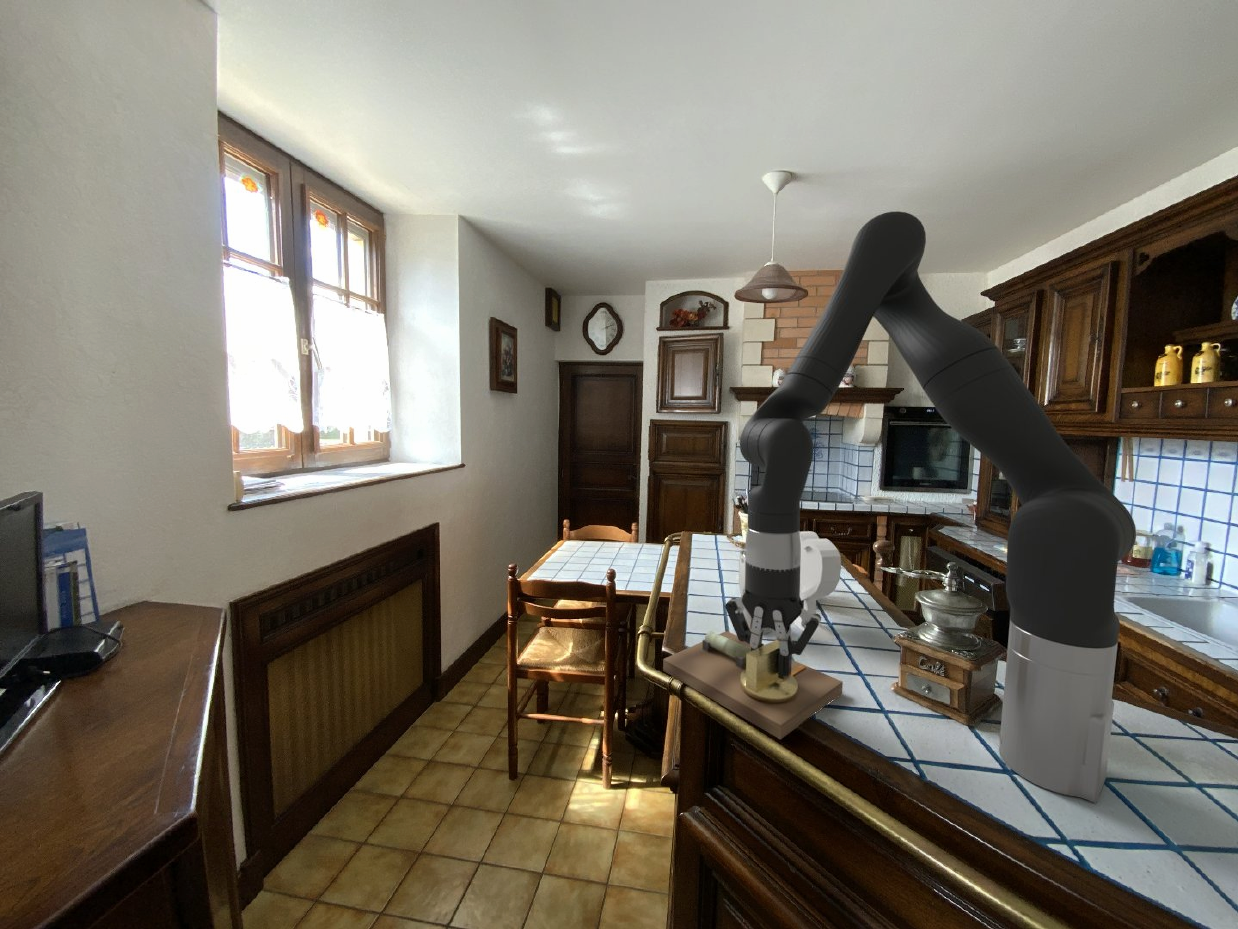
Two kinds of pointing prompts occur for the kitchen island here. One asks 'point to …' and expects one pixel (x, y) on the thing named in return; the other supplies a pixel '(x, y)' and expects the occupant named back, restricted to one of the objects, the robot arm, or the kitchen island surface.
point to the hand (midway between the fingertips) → (770, 672)
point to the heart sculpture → (817, 576)
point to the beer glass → (742, 590)
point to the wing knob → (767, 676)
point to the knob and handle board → (719, 678)
